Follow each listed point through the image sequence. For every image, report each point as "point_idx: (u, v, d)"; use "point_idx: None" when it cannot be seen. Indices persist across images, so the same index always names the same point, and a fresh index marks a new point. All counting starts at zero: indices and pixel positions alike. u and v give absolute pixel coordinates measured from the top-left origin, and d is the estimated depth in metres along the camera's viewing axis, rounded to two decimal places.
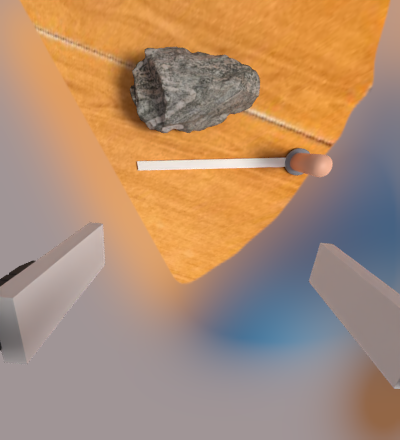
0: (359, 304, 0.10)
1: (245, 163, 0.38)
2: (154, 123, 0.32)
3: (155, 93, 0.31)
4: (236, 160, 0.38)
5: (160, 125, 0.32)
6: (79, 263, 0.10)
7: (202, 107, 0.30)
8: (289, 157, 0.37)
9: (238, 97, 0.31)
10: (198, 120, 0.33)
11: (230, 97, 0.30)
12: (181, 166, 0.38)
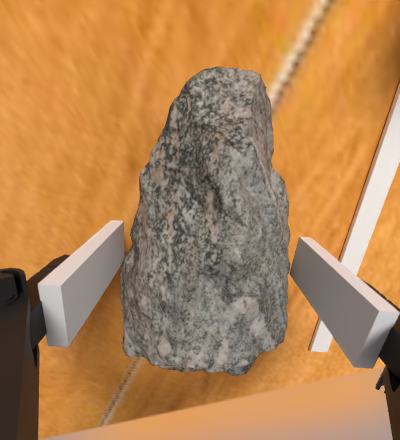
0: (329, 292, 0.10)
1: None
2: None
3: None
4: (384, 150, 0.14)
5: None
6: (106, 257, 0.11)
7: (273, 265, 0.10)
8: None
9: None
10: None
11: (265, 182, 0.09)
12: None
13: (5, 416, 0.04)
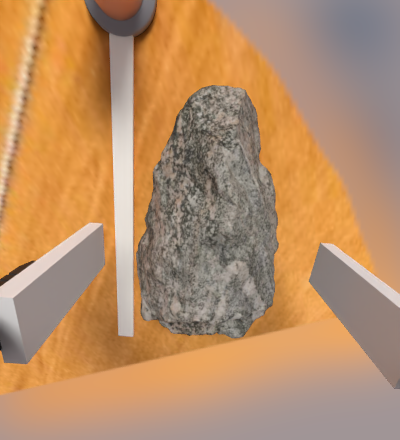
0: (359, 304, 0.10)
1: (123, 146, 0.17)
2: (259, 313, 0.17)
3: None
4: (116, 166, 0.17)
5: None
6: (79, 263, 0.10)
7: (259, 238, 0.13)
8: (106, 21, 0.14)
9: (243, 144, 0.13)
10: None
11: (250, 172, 0.12)
12: (127, 273, 0.20)
13: None
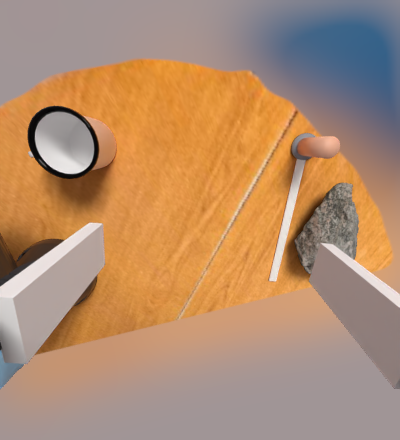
0: (359, 304, 0.10)
1: (292, 197, 0.41)
2: None
3: None
4: (288, 204, 0.42)
5: None
6: (79, 263, 0.10)
7: (355, 233, 0.38)
8: (298, 156, 0.39)
9: None
10: None
11: (355, 212, 0.36)
12: (281, 250, 0.45)
13: None
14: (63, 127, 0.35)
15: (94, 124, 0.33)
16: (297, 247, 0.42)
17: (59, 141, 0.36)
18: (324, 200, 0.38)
